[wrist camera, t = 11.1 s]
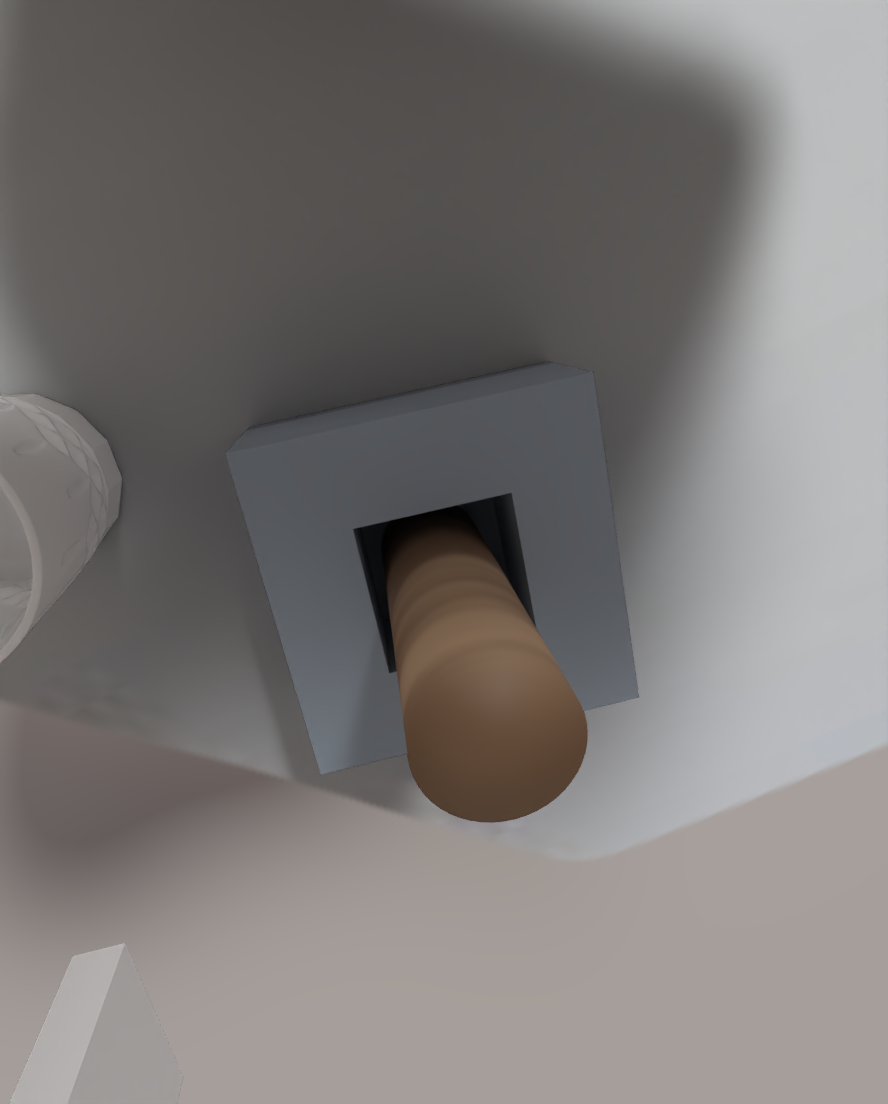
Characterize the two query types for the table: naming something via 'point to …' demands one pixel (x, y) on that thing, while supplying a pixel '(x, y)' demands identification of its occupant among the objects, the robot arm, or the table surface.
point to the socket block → (422, 486)
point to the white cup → (48, 506)
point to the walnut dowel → (474, 676)
